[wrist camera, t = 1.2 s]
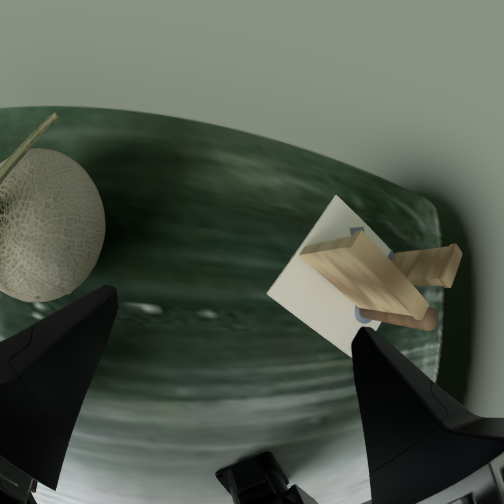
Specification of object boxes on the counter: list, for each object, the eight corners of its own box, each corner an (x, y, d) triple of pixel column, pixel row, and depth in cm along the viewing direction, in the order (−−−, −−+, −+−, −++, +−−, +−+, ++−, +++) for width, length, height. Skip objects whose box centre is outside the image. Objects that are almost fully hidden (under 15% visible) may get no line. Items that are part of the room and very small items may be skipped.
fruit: (13, 283, 19) (-98, 285, 4) (47, 169, 20) (-38, 90, 6) (100, 322, 21) (3, 380, 6) (137, 196, 22) (83, 96, 8)
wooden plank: (366, 321, 26) (431, 334, 17) (356, 312, 26) (421, 323, 17) (399, 260, 28) (463, 255, 19) (390, 250, 28) (454, 242, 19)
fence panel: (365, 298, 26) (429, 304, 17) (358, 309, 26) (421, 320, 17) (304, 244, 25) (361, 230, 16) (296, 256, 24) (351, 247, 16)
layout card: (355, 360, 26) (357, 361, 26) (266, 293, 24) (267, 293, 24) (406, 269, 28) (408, 269, 28) (334, 195, 27) (336, 194, 26)
